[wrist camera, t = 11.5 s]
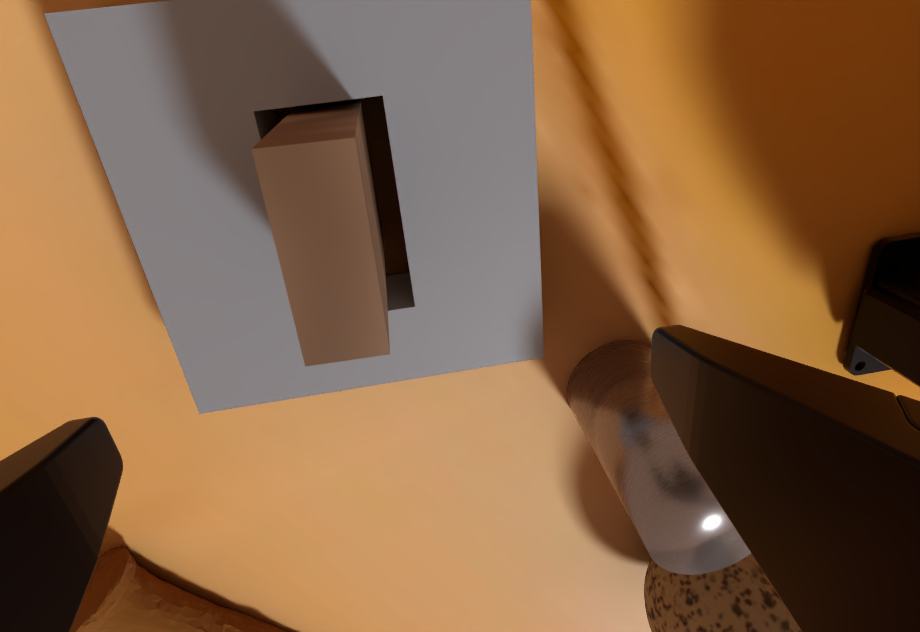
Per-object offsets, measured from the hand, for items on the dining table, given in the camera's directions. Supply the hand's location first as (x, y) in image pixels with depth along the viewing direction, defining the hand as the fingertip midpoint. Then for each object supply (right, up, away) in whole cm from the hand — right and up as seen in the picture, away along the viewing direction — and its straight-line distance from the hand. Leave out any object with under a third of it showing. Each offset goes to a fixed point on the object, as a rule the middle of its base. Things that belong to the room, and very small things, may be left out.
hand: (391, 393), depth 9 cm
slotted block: (-3, +6, +10) cm, 12 cm away
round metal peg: (+8, -2, +16) cm, 18 cm away
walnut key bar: (-3, +6, +10) cm, 12 cm away
